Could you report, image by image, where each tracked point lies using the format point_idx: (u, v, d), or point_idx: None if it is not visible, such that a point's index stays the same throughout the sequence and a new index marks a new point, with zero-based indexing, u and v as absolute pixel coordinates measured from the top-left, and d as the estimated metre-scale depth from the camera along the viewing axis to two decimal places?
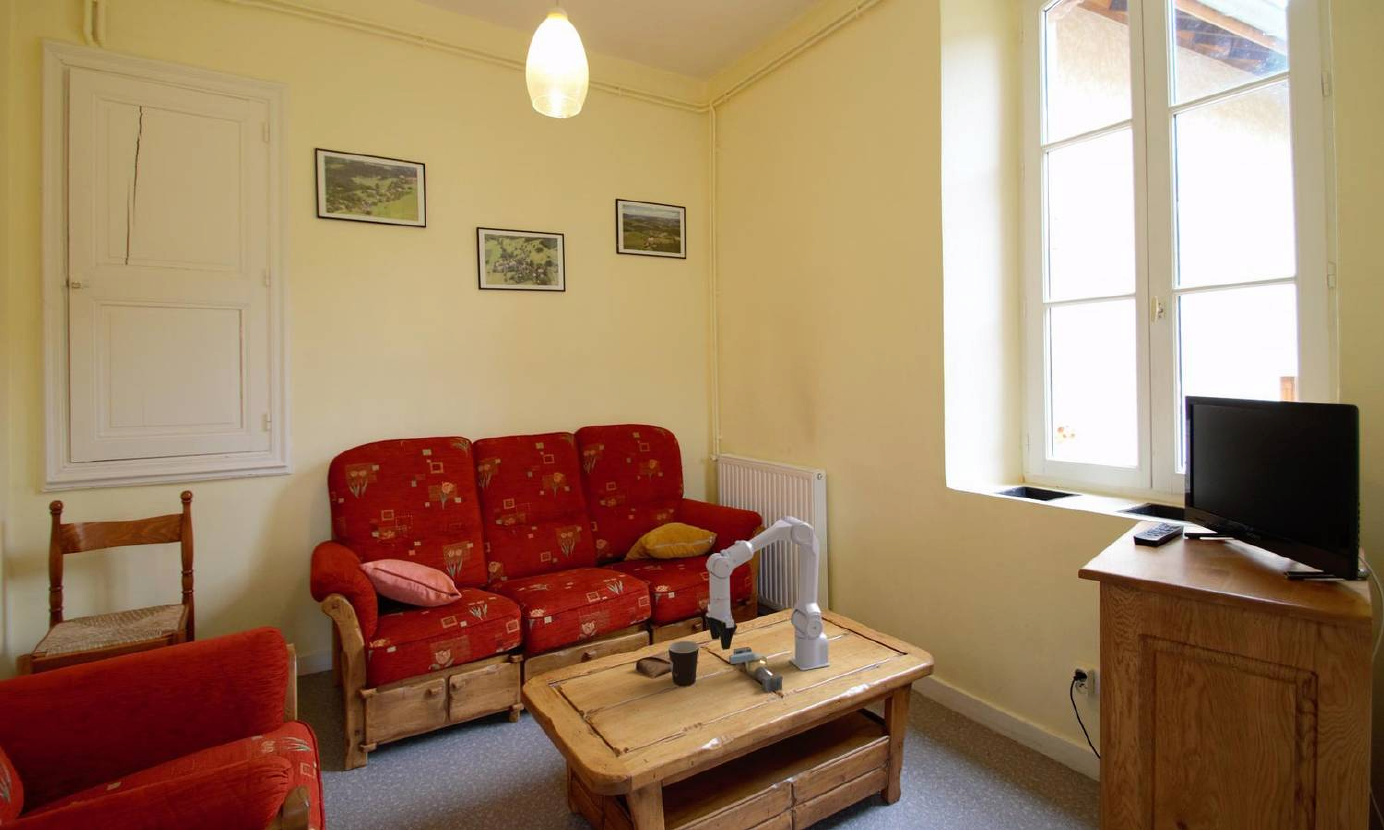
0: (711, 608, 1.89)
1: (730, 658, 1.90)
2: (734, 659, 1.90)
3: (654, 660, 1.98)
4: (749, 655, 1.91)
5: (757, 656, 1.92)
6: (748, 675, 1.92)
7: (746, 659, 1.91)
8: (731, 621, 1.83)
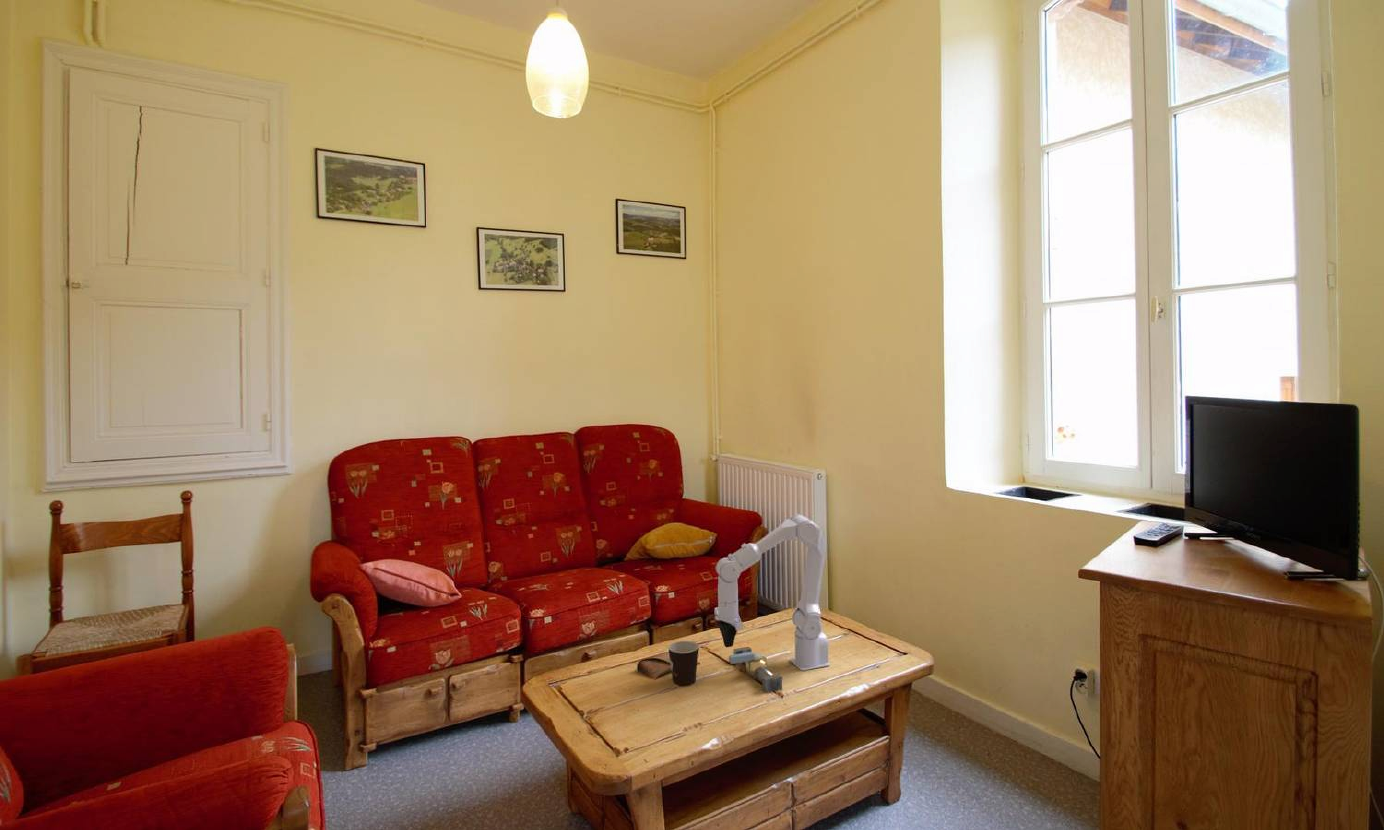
0: (720, 611, 1.93)
1: (730, 658, 1.90)
2: (734, 659, 1.90)
3: (655, 661, 1.97)
4: (749, 655, 1.91)
5: (757, 656, 1.92)
6: (748, 675, 1.92)
7: (746, 659, 1.91)
8: (740, 624, 1.88)
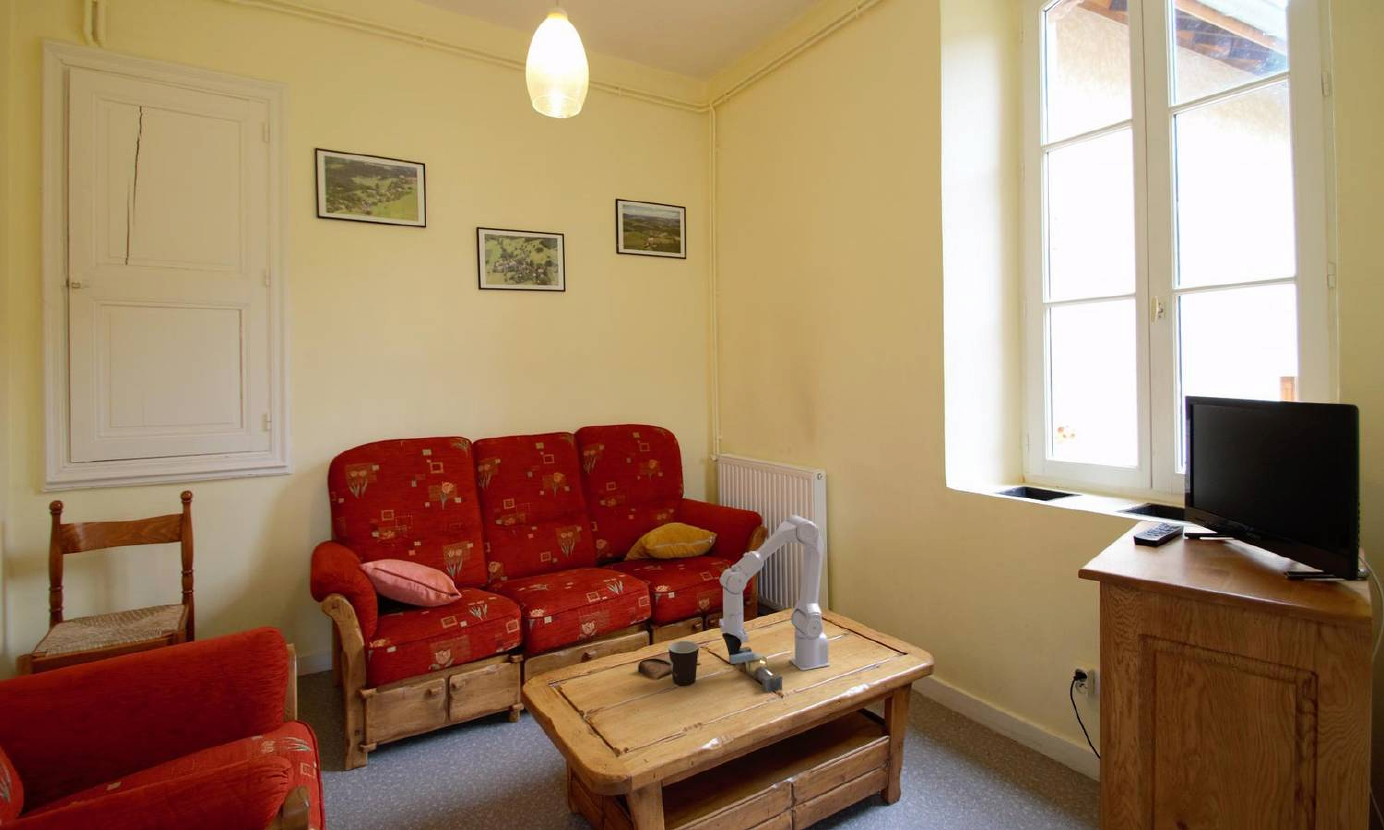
0: (725, 623, 1.91)
1: (730, 658, 1.90)
2: (734, 659, 1.90)
3: (656, 661, 1.96)
4: (749, 655, 1.91)
5: (757, 656, 1.92)
6: (748, 675, 1.92)
7: (746, 659, 1.91)
8: (746, 636, 1.86)
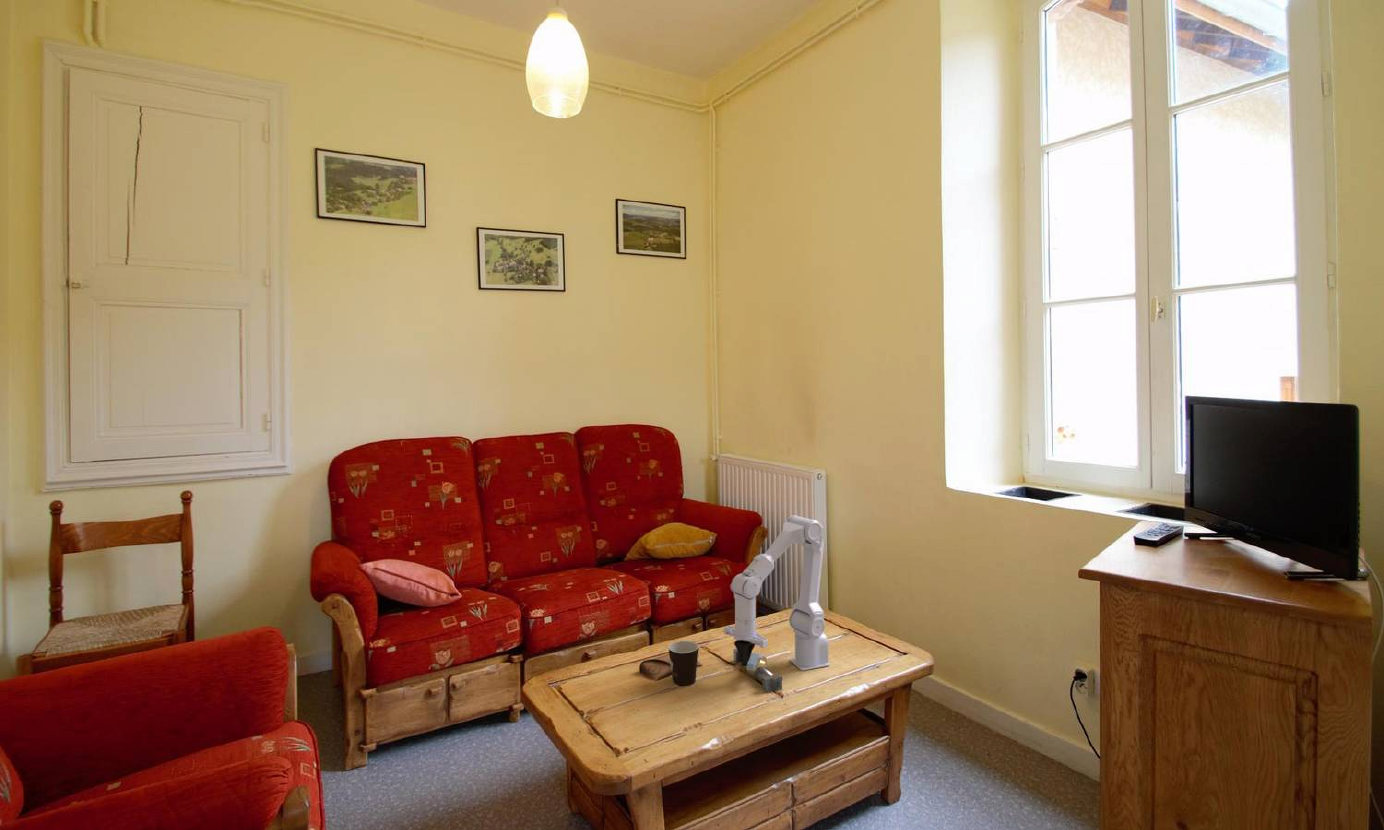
0: (739, 630, 1.85)
1: (750, 665, 1.85)
2: (754, 664, 1.86)
3: (657, 662, 1.96)
4: (757, 656, 1.90)
5: (759, 655, 1.92)
6: (748, 675, 1.92)
7: (757, 661, 1.89)
8: (766, 641, 1.82)
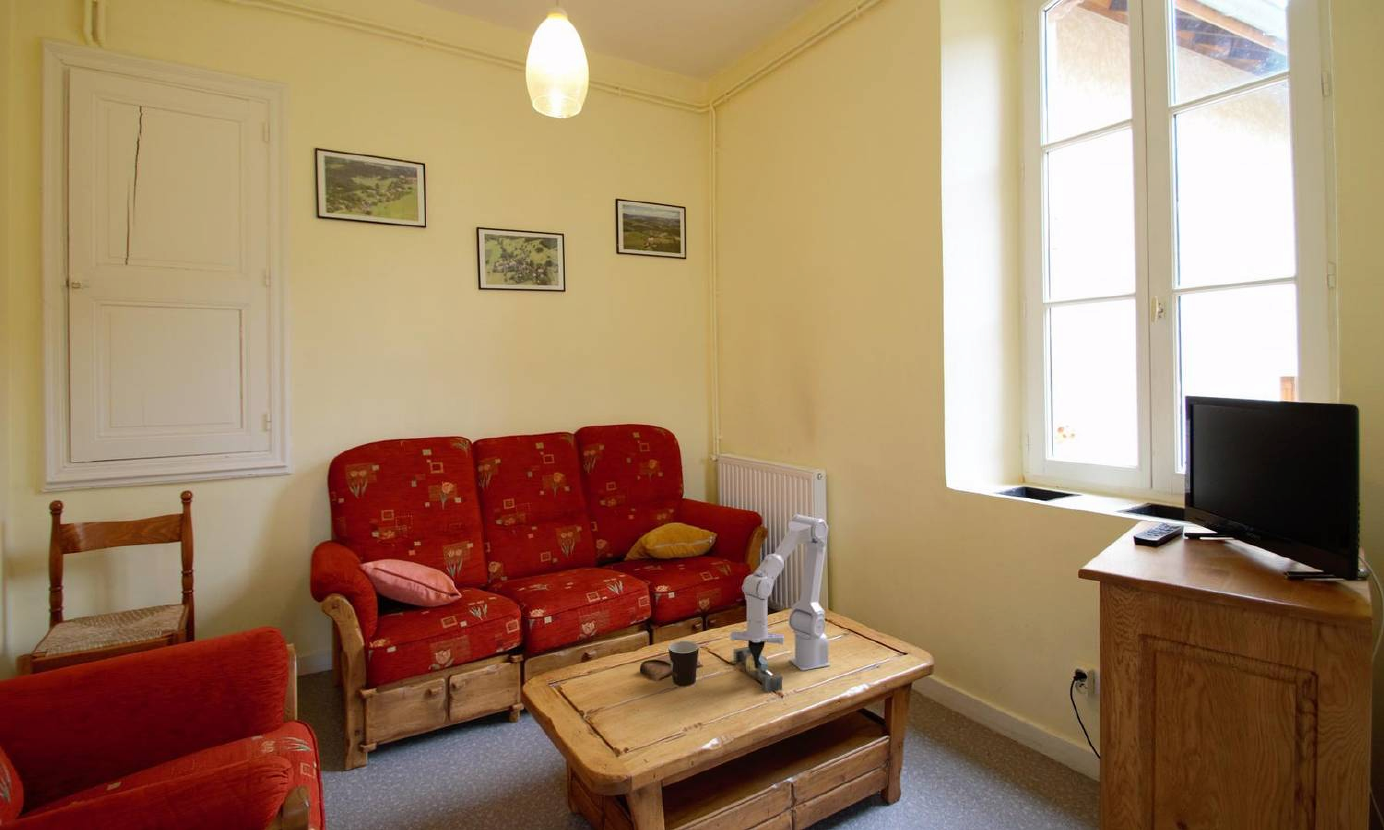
0: (757, 632, 1.83)
1: (764, 665, 1.85)
2: None
3: (658, 663, 1.96)
4: (762, 656, 1.90)
5: (760, 654, 1.93)
6: (748, 675, 1.92)
7: None
8: (783, 636, 1.85)
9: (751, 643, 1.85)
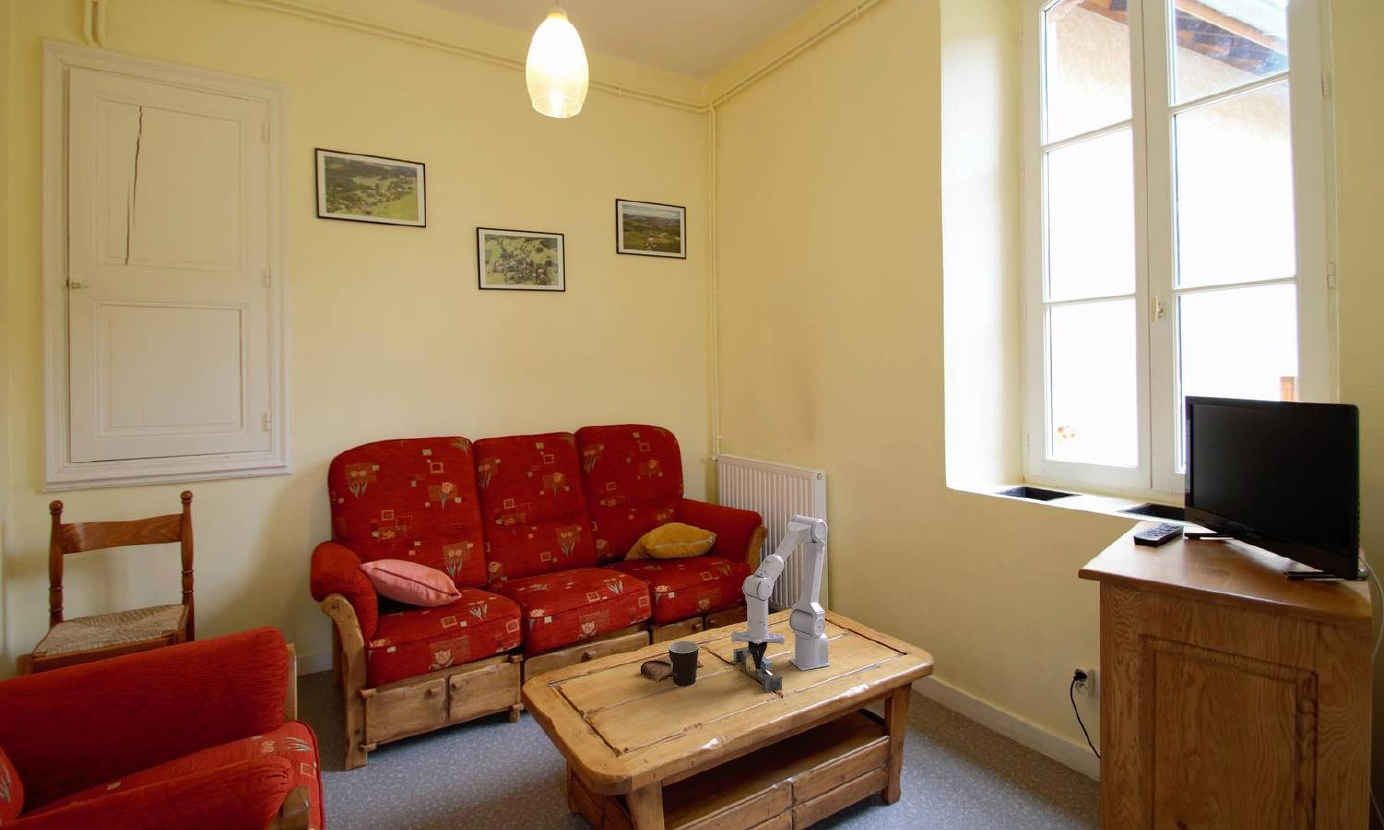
0: (758, 633, 1.83)
1: (768, 665, 1.85)
2: None
3: (659, 663, 1.95)
4: None
5: None
6: (748, 675, 1.92)
7: None
8: (783, 637, 1.85)
9: (751, 644, 1.85)
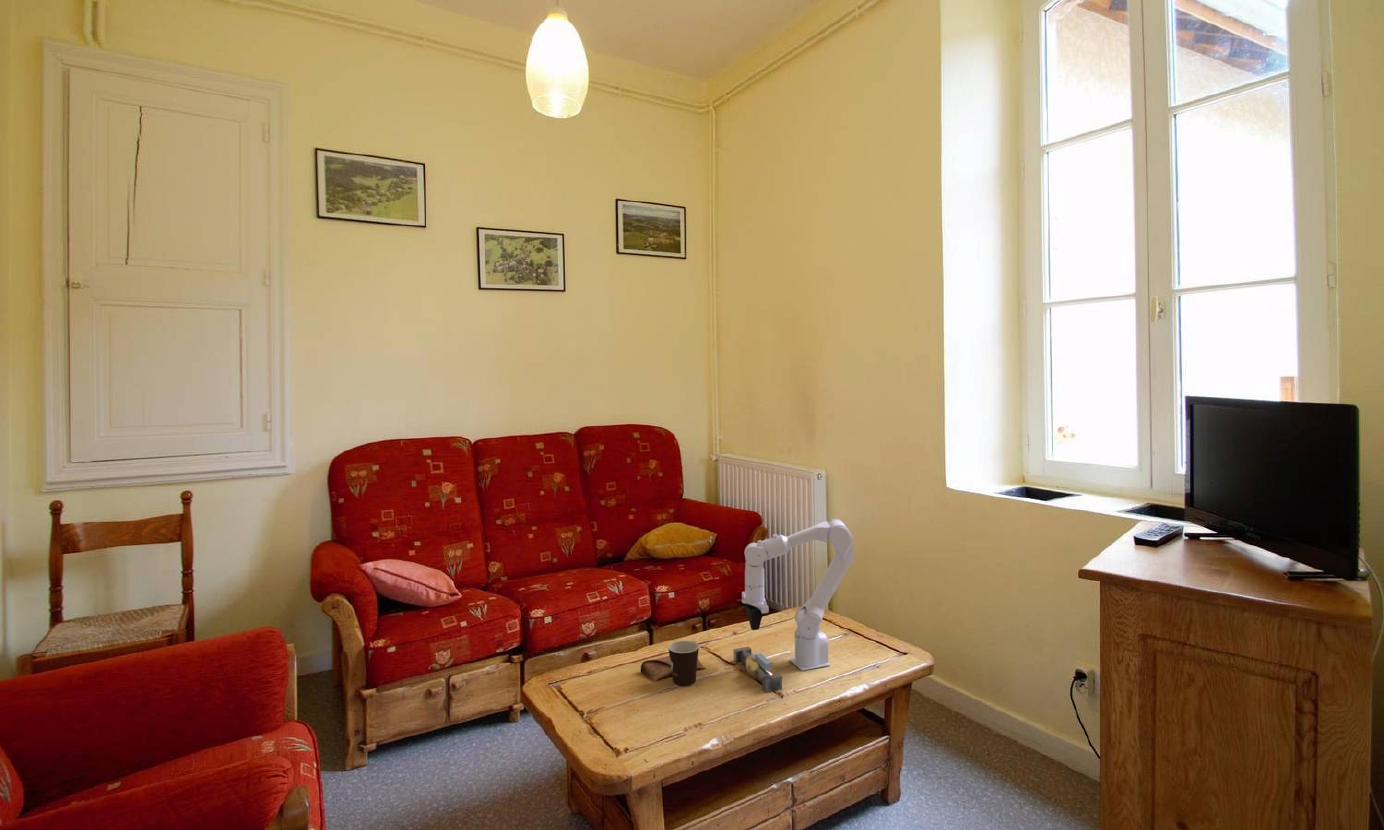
0: (746, 595, 1.98)
1: (768, 665, 1.85)
2: None
3: (658, 663, 1.95)
4: None
5: None
6: (748, 675, 1.92)
7: None
8: (766, 607, 1.93)
9: (748, 604, 2.01)
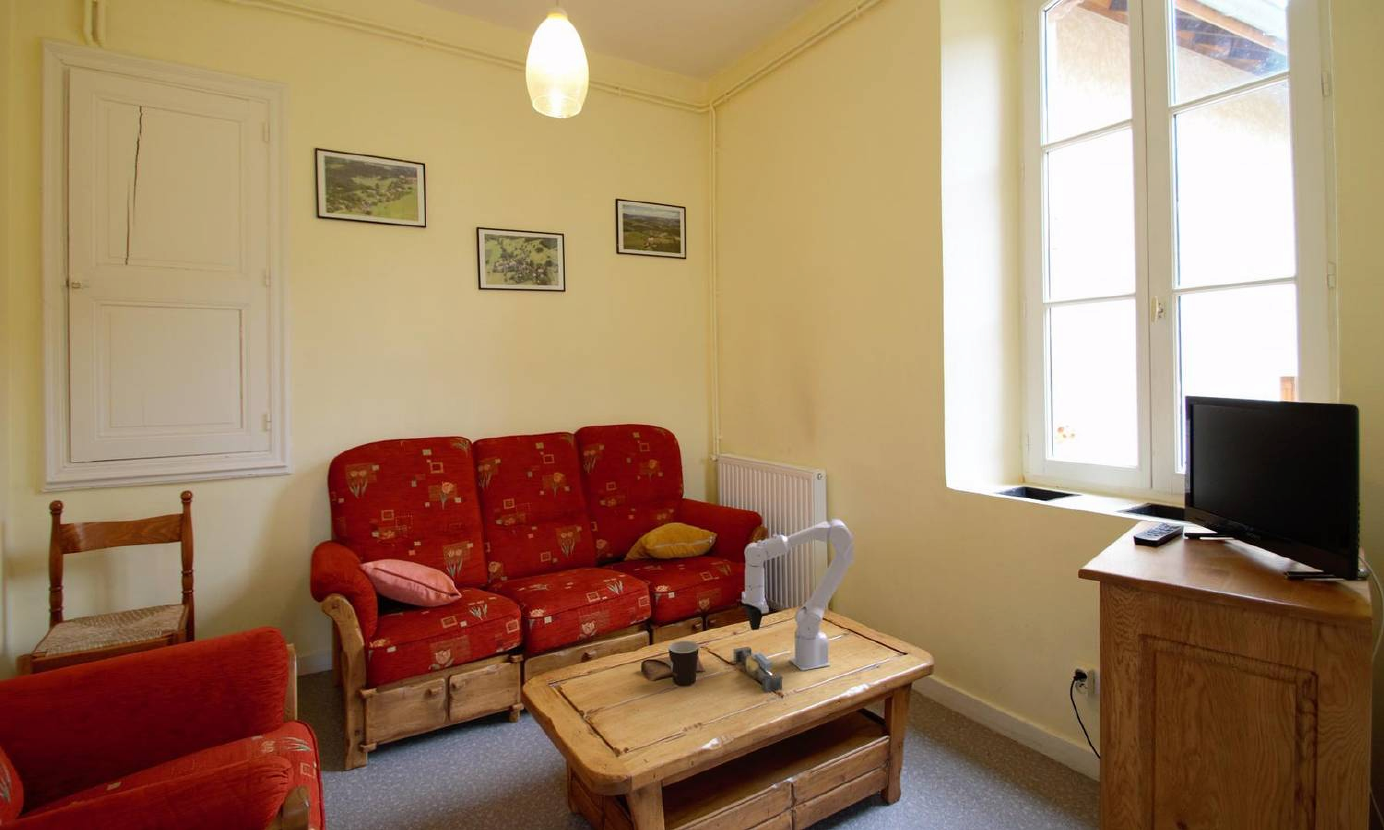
0: (746, 595, 1.98)
1: (768, 665, 1.85)
2: None
3: (658, 663, 1.95)
4: None
5: None
6: (748, 675, 1.92)
7: None
8: (766, 607, 1.93)
9: (748, 604, 2.01)
